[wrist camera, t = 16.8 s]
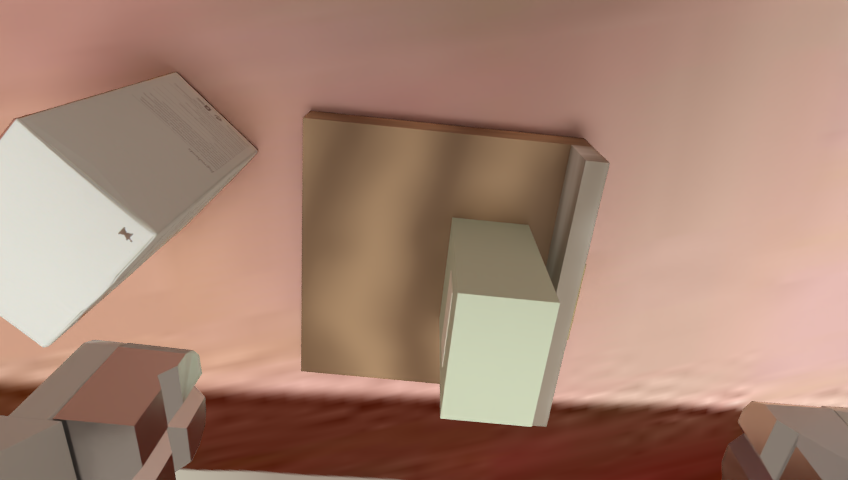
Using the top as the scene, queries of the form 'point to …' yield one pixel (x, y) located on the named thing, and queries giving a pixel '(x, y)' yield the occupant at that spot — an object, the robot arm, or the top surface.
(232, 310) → the top surface
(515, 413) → the carton
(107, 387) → the robot arm
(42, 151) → the small box
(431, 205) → the shelf board
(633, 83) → the top surface
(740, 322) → the top surface
